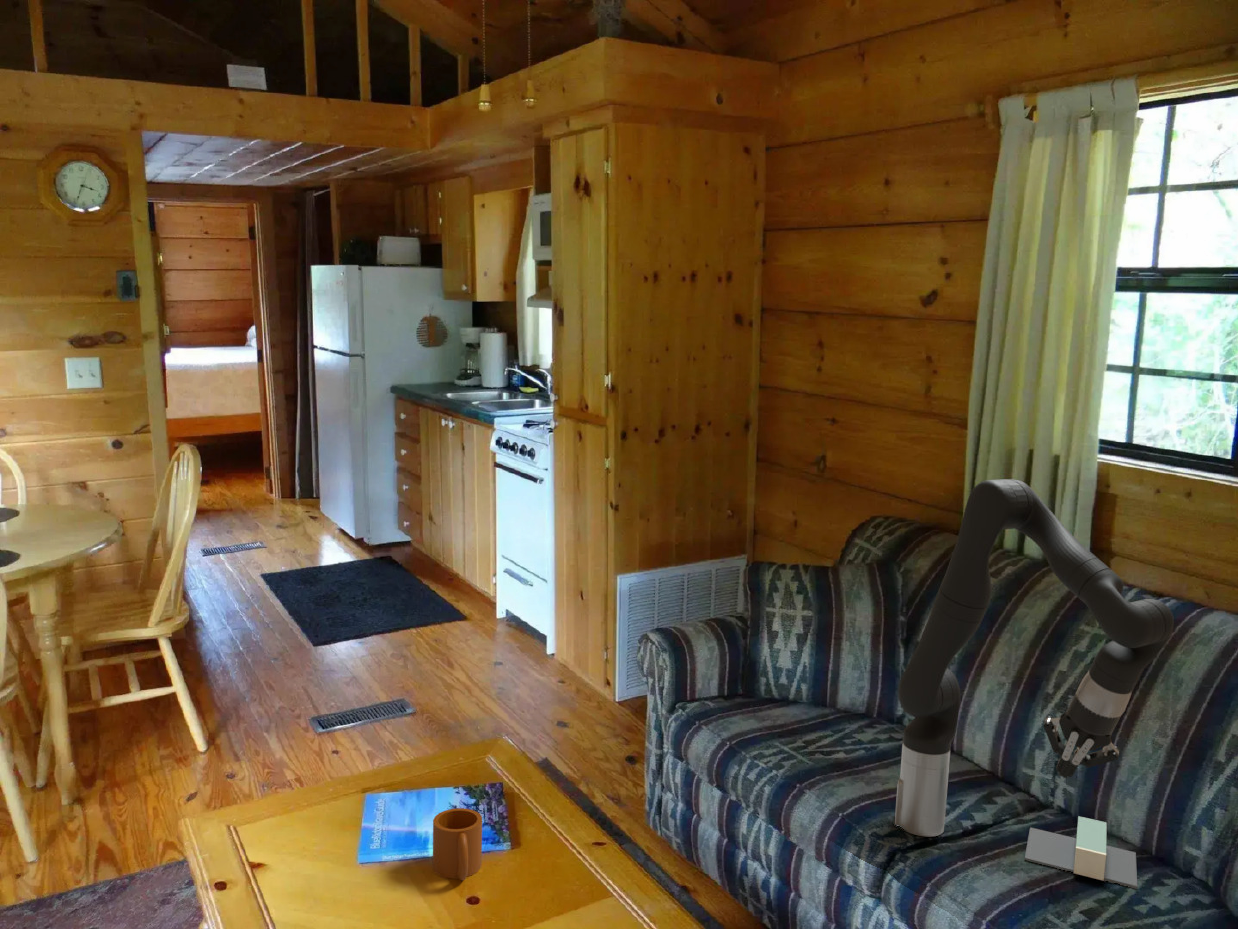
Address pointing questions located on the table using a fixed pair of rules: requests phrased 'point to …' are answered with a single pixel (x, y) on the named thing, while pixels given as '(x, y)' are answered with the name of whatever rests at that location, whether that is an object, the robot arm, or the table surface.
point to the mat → (1062, 856)
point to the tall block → (1090, 848)
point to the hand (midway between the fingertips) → (1062, 774)
